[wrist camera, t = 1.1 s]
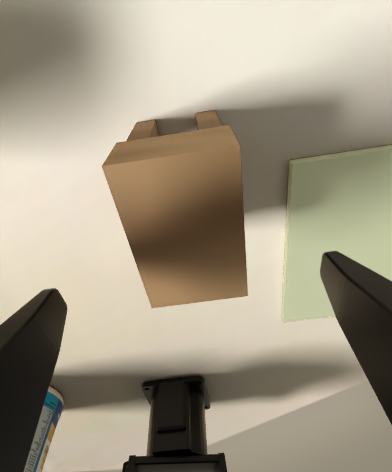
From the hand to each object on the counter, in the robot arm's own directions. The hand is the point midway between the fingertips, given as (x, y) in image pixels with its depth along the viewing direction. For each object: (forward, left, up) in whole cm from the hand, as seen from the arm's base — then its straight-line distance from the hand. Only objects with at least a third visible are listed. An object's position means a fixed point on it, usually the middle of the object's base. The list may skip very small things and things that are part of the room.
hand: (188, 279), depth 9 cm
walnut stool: (0, 0, -9) cm, 9 cm away
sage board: (-7, -13, -9) cm, 17 cm away
